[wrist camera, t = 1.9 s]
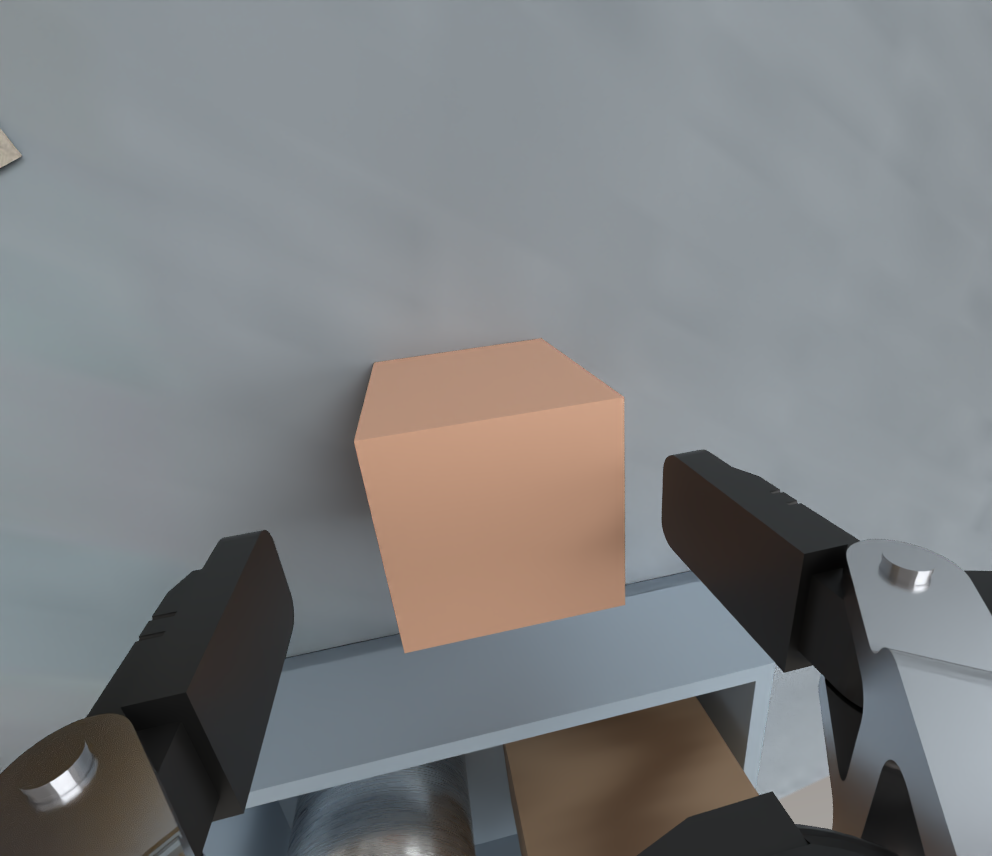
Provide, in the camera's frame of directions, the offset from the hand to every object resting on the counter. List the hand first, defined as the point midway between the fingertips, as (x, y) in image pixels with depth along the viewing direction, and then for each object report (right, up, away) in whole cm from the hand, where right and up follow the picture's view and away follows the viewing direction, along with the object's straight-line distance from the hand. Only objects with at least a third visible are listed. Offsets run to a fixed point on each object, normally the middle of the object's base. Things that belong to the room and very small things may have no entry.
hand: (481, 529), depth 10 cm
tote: (0, -11, +10) cm, 15 cm away
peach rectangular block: (-1, +2, +5) cm, 6 cm away
